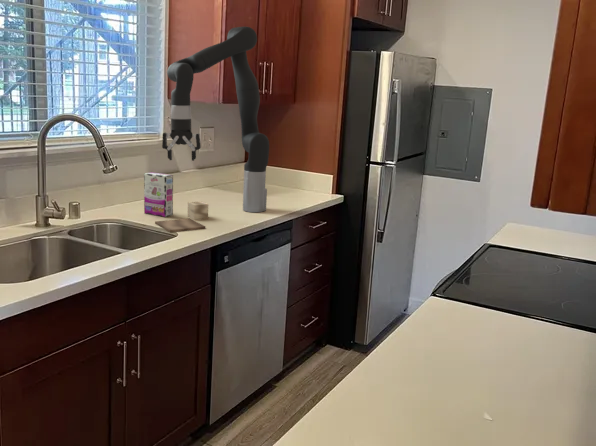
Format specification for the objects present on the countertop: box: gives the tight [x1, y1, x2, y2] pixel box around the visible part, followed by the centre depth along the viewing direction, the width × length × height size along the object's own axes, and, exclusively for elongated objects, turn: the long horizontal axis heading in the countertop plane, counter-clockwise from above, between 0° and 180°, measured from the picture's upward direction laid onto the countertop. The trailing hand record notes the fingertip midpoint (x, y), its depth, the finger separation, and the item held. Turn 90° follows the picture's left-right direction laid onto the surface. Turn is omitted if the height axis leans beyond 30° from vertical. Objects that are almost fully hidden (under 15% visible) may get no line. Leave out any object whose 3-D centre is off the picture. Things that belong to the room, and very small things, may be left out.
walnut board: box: [154, 217, 206, 233], centre depth 219 cm, size 14×14×1 cm
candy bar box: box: [143, 171, 174, 218], centre depth 234 cm, size 11×5×16 cm, turn 62°
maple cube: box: [187, 201, 209, 221], centre depth 233 cm, size 6×6×6 cm
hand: (181, 160), depth 226 cm, fingers open, 8 cm apart
